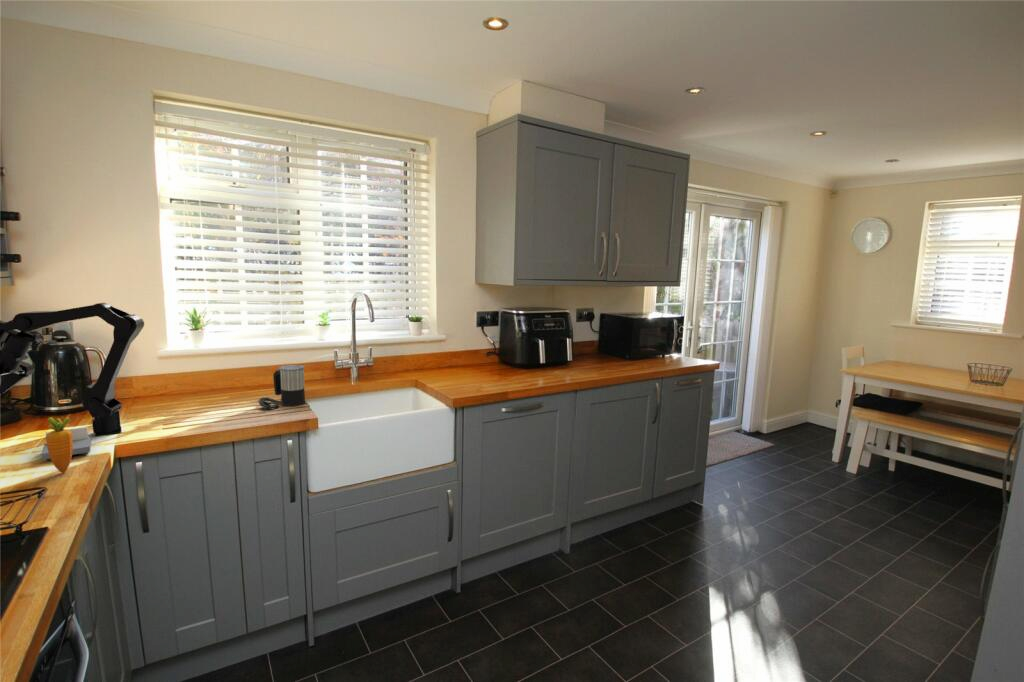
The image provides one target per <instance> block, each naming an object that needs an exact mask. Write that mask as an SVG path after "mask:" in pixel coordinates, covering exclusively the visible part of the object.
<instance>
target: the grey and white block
mask: <svg viewBox="0 0 1024 682" xmlns="http://www.w3.org/2000/svg"><path fill="white" fill-rule="evenodd" d="M65 429H66V430H70V431H71V432H72V438H73V452H72V456H74V455H80V454H81V455H84V456H85V455H87V454H88V453H90V452H91V446H92V438H91V436H89V431H88V426H87V425H86V426H79V427H73V428H72V427H71V428H65ZM51 431H52V430H51ZM51 431H50V430H49V431H45V437H46V436H47V434H48V433H50V432H51ZM43 445H44V446H42V450H41V453H40V457H41V460H43V461H52V460H51V458H50V455H49V452H48V447H47V441H46V443H44V444H43Z"/></svg>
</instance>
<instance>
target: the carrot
mask: <svg viewBox="0 0 1024 682" xmlns="http://www.w3.org/2000/svg"><path fill="white" fill-rule="evenodd" d="M47 421H48V422H49V423H50V424H51V425H48V428H50V429H51V432H50V433H48V434H47V436H46V435H45V440H46V441H47V442H46V443H47V447H48V452H49V455H50V458H51V460H50V461H51V463H52V464H53V466H54V467H55V468H56V469H57V471H58V472H60V473H62V474H65V473H66V471H67V470H68V468H69V467H70V464H71V461H72V457H73V455H72V452H73V438H72V432H71V431H70V430H66V429H67V428H65V427H66V425H67V423H68V422H69V421H70V418H69V417H66V418H64V420H63V421H62V419H60V418H58V417H57V418H55V419H54V417H48V418H47Z"/></svg>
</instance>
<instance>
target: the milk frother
mask: <svg viewBox="0 0 1024 682" xmlns="http://www.w3.org/2000/svg"><path fill="white" fill-rule="evenodd" d="M305 367H306V366H305V365H301V364H300V365H299V364H290V365H283V366H280V367H279V369H277V370H275V371H274V372H273V375H272V377H273V378H272V379H273V386H274V387H273V388H274V395H275V396H280V395H281V397H280V401H279V400H276V399H274V398H269V397H261V398H259V400H258V404H259V406H261V407H262V408H264V409H267V410H269V409H276V408H278V407H279V403H280V405H281V406H284V407H296V406H295V405H297V406H300V405H301V404H302V405H304V404H306V402H307V401H306V396H305V394H306V393H305ZM272 403H273V404H274V405H272ZM268 408H269V409H268Z"/></svg>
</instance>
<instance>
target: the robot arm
mask: <svg viewBox="0 0 1024 682" xmlns="http://www.w3.org/2000/svg"><path fill="white" fill-rule="evenodd" d="M93 317H98V318H100V319H101V320H102V321H104V322H106V324H107V325H108V324H109V325H110V326H113V331H112V333H113V334H112V335H113V336H112V337H113V342H112V344H111V346H110V349H109V352H108V354H107V356H106V358H105V361H104V363H103V367H101V371H100V374H99V376H98V378H97V379H96V380H97V381H96V382H93V383H91V384H89V385H87V386H86V387H85V389H84V391H83V392H84V393H83V394H82V397H80V400H81V405H82V407H83V408H84V409H85V410H86V411H88V413H89V414H90V416H91V418H92V420H91V425H92V433H94V435H95V436H96V437H98V436H104V435H111V434H120V433H122V425H121V418H120V417H121V416H120V410H122V407H123V403H122V402H121V401H120V400H118V399H117V398H115V397H114V396H115V392H116V391H115V383H116V379H117V378H118V375H119V373H120V370H121V368H122V366H123V364H124V361H125V358H126V356H127V353H128V351H129V348H130V347H131V344H132V343H133V342H134V340H136V338H137V337H138V336H139V334H140V333H141V331H142V330H143V329H144V327H145V321H144V319H143V318H142V317H141V316H140V315H137V314H131V313H129V312H127V311H124V310H122V309H119V308H117V307H115V306H113V305H111V304H109V303H107V302H98V303H94V304H92V305H84V306H80V307H74V308H68V309H61V310H56V311H55V310H52V311H51V310H40V311H39V310H37V311H36V310H34V311H26V312H19V313H17V314H15V316H14V317H13V318H12V319H11V320H9V321H3V320H0V343H2V342H3V343H2V345H1V347H0V379H1V378H2V376H3V378H2V381H1V384H0V394H1V395H3V394H5V393H6V392H8V390H9V391H10V389H11V388H13V387H14V386H16V385H17V384H19V383H20V382H22V381H23V380H25V379H26V378H29V376H31V375H33V374H34V372H35V370H36V367H35V365H33V364H31V363H28V362H26V361H25V360H28V358H29V355H27V353H28V352H29V350H30V348H31V346H32V344H36V345H37V344H39V343H44V340H43V338H42V337H41V335H40V333H35V334H32V333H30V332H35V331H39V330H42V329H45V328H48V327H52V326H54V325H56V324H60V323H66V322H70V321H76V320H77V321H78V320H82V319H83V320H84V319H88V318H93Z"/></svg>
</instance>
